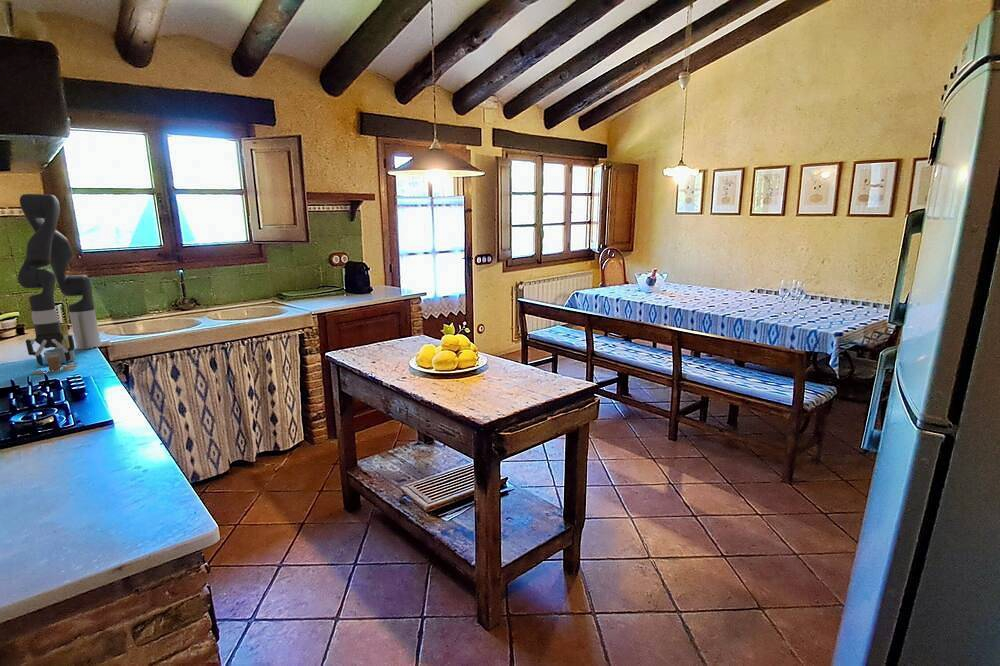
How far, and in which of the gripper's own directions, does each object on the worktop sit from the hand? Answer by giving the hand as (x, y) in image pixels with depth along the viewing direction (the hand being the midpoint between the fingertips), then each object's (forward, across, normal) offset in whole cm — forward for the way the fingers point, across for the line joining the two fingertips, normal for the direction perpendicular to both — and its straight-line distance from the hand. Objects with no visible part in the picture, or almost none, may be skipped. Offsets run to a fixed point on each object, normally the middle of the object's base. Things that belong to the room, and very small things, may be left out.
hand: (54, 363), depth 202 cm
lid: (+3, 0, 0) cm, 3 cm away
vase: (+3, 0, -26) cm, 26 cm away
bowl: (+2, 0, -14) cm, 14 cm away
